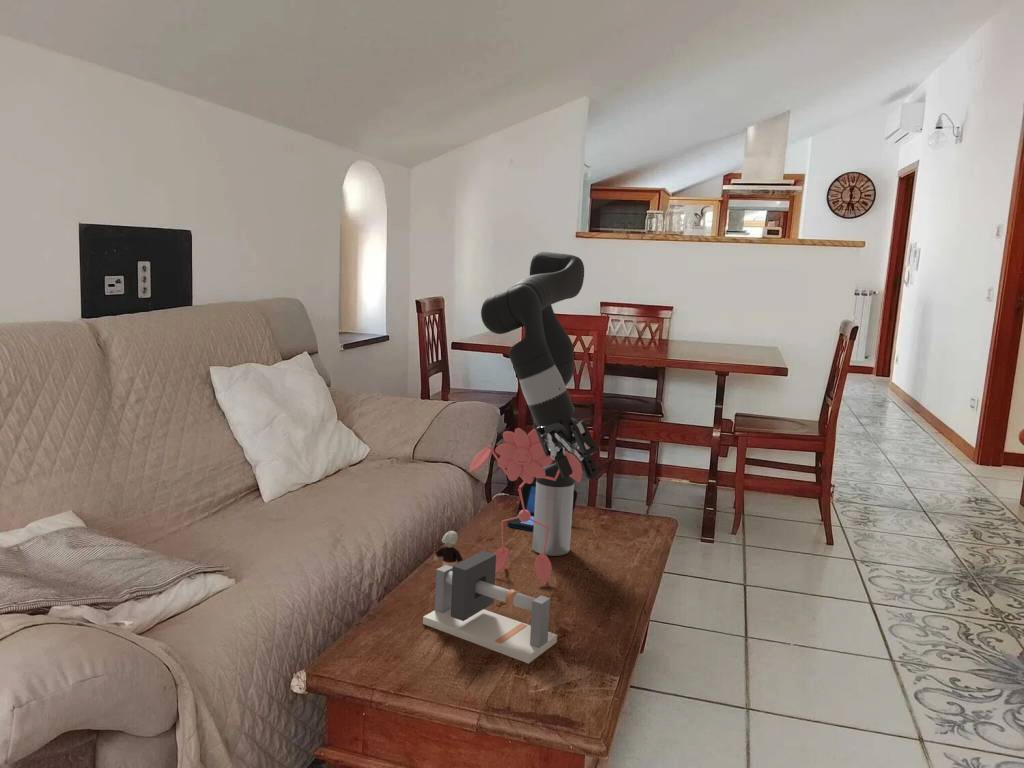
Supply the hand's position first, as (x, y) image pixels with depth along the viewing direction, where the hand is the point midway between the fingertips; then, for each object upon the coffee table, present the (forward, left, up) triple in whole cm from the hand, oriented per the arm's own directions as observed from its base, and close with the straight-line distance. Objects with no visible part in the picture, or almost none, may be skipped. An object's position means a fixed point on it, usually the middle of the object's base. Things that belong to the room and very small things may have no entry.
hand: (580, 476), depth 144 cm
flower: (-27, -4, -32) cm, 42 cm away
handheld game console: (-64, +11, -33) cm, 73 cm away
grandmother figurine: (-26, -19, -32) cm, 46 cm away
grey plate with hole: (-8, -17, -29) cm, 34 cm away
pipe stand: (-5, -14, -32) cm, 36 cm away
